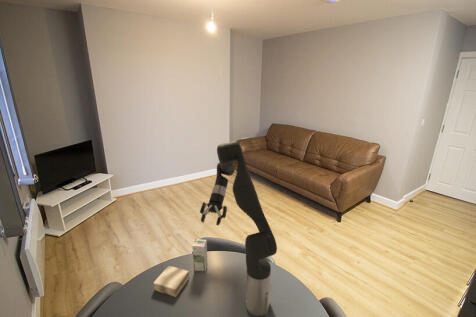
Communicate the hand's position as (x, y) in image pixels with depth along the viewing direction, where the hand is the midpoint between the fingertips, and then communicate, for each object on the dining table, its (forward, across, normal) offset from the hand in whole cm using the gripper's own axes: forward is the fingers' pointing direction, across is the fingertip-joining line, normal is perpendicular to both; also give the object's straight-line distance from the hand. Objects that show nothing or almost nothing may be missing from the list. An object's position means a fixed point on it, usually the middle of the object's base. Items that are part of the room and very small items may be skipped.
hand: (209, 223), depth 120 cm
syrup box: (+21, 0, +4) cm, 22 cm away
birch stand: (+30, -7, -5) cm, 32 cm away
